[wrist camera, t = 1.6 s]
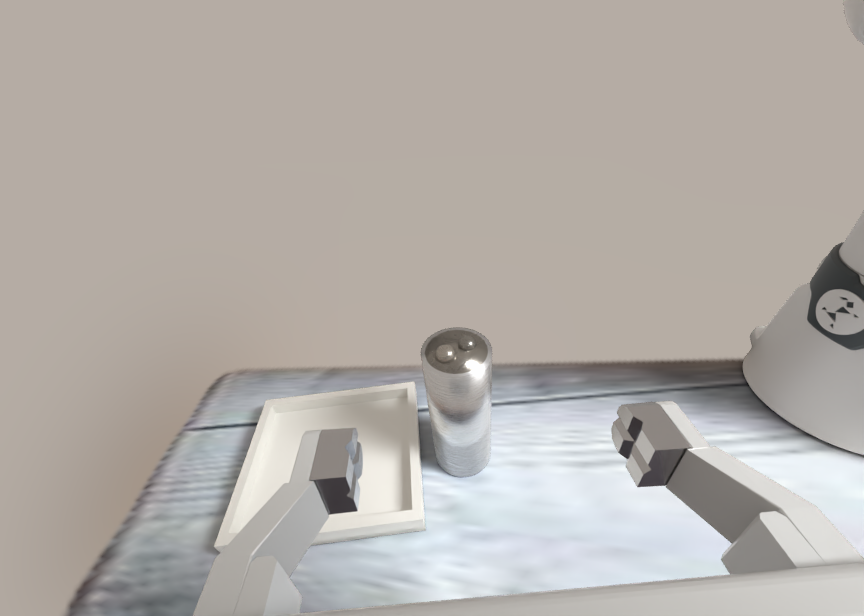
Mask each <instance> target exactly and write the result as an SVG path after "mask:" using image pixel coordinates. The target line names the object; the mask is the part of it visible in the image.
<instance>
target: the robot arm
mask: <svg viewBox="0 0 864 616" xmlns="http://www.w3.org/2000/svg"><path fill="white" fill-rule="evenodd" d="M843 5H844V14H845V17H846V21H847V24H848V26H849V28H850V30H851V32H852V33H853V35H854V36H855V37H856V38H857V40H859V41H860V42H861V43H862V44H863V45H864V0H843ZM817 269H818V271H817V272H816V273H815V275H814V277H813V278H812V280H811V281H810V283H807V284H802V285H800V286H799V287H798V288H797V289H796V290H795V291H794V292H793V293H792V295H791V296H790V297H789V298H788V300H787V301H786V302H785V303H784V305H783V306H782V307H781V309H780V310H779V311H778V312H777V314H776V315H775V316H774V317H773V319H772V320H771V322H770V323H769V324H768V325H767V326H758V327H757V328H755V329H754V330H753V332H752V333H751V335H750V338H751V344H752V348H751V350H750V351H749V353H748V354H747V355H746V356H745V358H744V361H743V373H744V376H745V378H746V380H747V382H748V384H749V386H750V387H751V389H752V390H753V391H754V392H755V394H756V395H757V396H758V397H759V398H760V399H761V400H762V401H763V402H764V403H765V404H766V405H767V406H768V407H770V408H771V409H772V410H773V411H774V412H776V413H777V414H778V415H780V416H781V417H782V418H784V419H785V420H787V421H788V422H790V423H791V424H793V425H795V426H796V427H798V428H800V429H801V430H803V431H805V432H807V433H809V434H811V435H813V436H815V437H817V438H819V439H821V440H823V441H825V442H828V443H830V444H832V445H835V446H837V447H840V448H843V449H845V450H848V451H851V452H854V453H858V454H861V455H864V211H863V213H862V214H861V216H860V218H859V219H858V221H857V223H856V224H855V226H854V227H853V229H852V231H851V232H850V234H849V235H848V237H847V238H846V240H845V242H843V243H840V244H838V245H836V246H835V247H834V248H833V249H832V250H831V252H830V253H829V254H828V256H826V257H825V258H824V259H823V260H822V262H821V263H820V264H819V266H818V268H817ZM617 414H618V416H619V418H618V419H617V420H616V421H614V422H613V426H612V429H611V430H612V439H613V442H614V445H615V447H616V449H617V451H618V453H620V454H621V455H622V456H624V457H625V458H626V459H627V463H626V468H627V469H628V471H629V473H630V475H631V477H632V478H633V480H634V482H635V484H636V486H637V487H648V486H666V485H667V486H666V488H667V489H669V490H670V491H671V492H672V493H673V494H675V495H676V496H677V497H678V498H679V499H680V500H682V501H683V502H684V503H685V504H686V505H687V506H689V507H690V508H691V509H692V510H693V511H694V512H696V513H697V514H698V515H699V516H700V517H701V518H703V519H704V520H705V521H706V522H707V523H708V524H710V525H711V526H712V527H713V528H714V529H716V530H717V531H718V532H719V533H720V534H721V535H723V536H724V537H725V538H726V539H727V540H728V541H730V542H731V543H732V544H731V546H730V547H729V548H728V549H727V550H726V551H725V552H724V553H723V555H722V558H721V560H722V562H723V564H724V565H725V567H726V568H727V570H728V572H729V573H730V575H719V576H708V577H697V578H685V579H674V580H663V581H652V582H641V583H630V584H619V585H608V586H597V587H586V588H574V589H563V590H552V591H541V592H530V593H519V594H508V595H497V596H486V597H475V598H463V599H452V600H441V601H430V602H419V603H408V604H397V605H386V606H375V607H364V608H353V609H342V610H331V611H320V612H309V613H300V608H301V603H302V598H303V597H302V596H301V594H300V592H299V591H298V589H297V588H296V587H295V585H294V584H293V582H292V581H291V580H290V578H289V577H290V576H291V574H292V573H293V571H294V570H295V568H296V567H297V565H298V564H299V562H300V561H301V559H302V557H303V556H304V554H305V553H306V551H307V550H308V548H309V547H310V545H311V544H312V542H313V541H314V539H315V538H316V536H317V534H318V533H319V531H320V530H321V528H322V527H323V525H324V524H325V522H326V521H327V519H328V518H329V515H330V514H339V513H348V512H356V511H358V505H359V496H360V486H359V483H358V479H359V478H360V476H361V475H362V469H363V453H362V447H361V443H359V442H358V441H357V440H358V432H357V429H356V428H342V429H325V430H311V431H305V433H304V434H303V436H302V439H301V443H300V446H299V450H298V453H297V457H296V460H295V464H294V467H293V471H292V474H291V478H290V481H289V483H284V484H283V485H282V486H281V487H280V488H279V489H278V490H277V492H276V493H275V494H274V495H273V496H272V497H271V498H270V499H269V500H268V501H267V502H266V504H265V505H264V506H263V507H262V508H261V509H260V510H259V511H258V512H257V513H256V514H255V516H254V517H253V518H252V519H251V520H250V521H249V522H248V523H247V524H246V525H245V526H244V528H243V529H242V530H241V531H240V532H239V533H238V534H237V535H236V536H235V537H234V538H233V540H232V541H231V542H230V543H229V544H228V545H227V546H226V547H225V548H224V549H223V550H222V551H221V553H220V554H219V555H218V556H217V557H216V558H215V560H214V562H213V565H212V567H211V570H210V572H209V575H208V578H207V580H206V583H205V585H204V588H203V590H202V593H201V595H200V598H199V601H198V603H197V606H196V608H195V611H194V613H193V616H864V558H863V557H862V556H861V555H860V553H859V552H858V551H857V550H856V549H855V548H854V547H853V546H852V545H851V544H850V543H849V541H848V540H847V539H846V538H845V537H844V536H843V535H842V534H841V533H840V532H839V531H838V529H837V528H836V527H835V526H834V525H833V524H832V523H831V522H830V521H829V520H828V519H827V517H826V516H825V515H824V514H823V513H822V512H821V511H820V510H819V509H818V508H817V507H816V506H815V505H813V504H811V503H810V502H808V501H806V500H805V499H803V498H801V497H800V496H798V495H796V494H795V493H793V492H791V491H790V490H788V489H786V488H785V487H783V486H781V485H780V484H778V483H776V482H774V481H773V480H771V479H769V478H768V477H766V476H764V475H763V474H761V473H759V472H758V471H756V470H754V469H753V468H751V467H749V466H748V465H746V464H744V463H743V462H741V461H739V460H738V459H736V458H734V457H733V456H731V455H729V454H728V453H726V452H724V451H722V450H721V449H719V448H717V447H710V445H709V444H708V443H707V441H706V440H705V439H704V438H703V436H702V435H701V434H700V433H699V431H698V430H697V429H696V428H695V426H694V425H693V424H692V423H691V421H690V420H689V419H688V418H687V416H686V415H685V414H684V413H683V411H682V410H681V409H680V408H679V406H678V405H677V404H676V403H675V402H673V401H661V402H646V403H636V404H626V405H621V406H620V407H619V408H618V411H617Z"/></svg>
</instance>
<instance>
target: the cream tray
mask: <svg viewBox="0 0 864 616" xmlns="http://www.w3.org/2000/svg"><path fill="white" fill-rule="evenodd" d="M342 428H356V429H357V432H358V440H357V441H358V442H359V443H361V447H362V453H363V469H362V475H361V476H360V478H359V479H358V483H359V486H360V496H359V505H358V511H356V512H348V513H339V514H330V515H329V518H328V519H327V521H326V522H325V524H324V525H323V527H322V528H321V530H320V531H319V533H318V534H317V536H316V538H315V539H314V541H313V542H312V544H311V545H319V544H326V543H334V542H341V541H349V540H356V539H364V538H372V537H379V536H387V535H394V534H402V533H409V532H417V531H424V530H426V529H425V514H424V498H423V483H422V468H421V453H420V438H419V423H418V408H417V393H416V387H415V382H407V383H399V384H391V385H383V386H375V387H367V388H359V389H351V390H343V391H335V392H327V393H319V394H311V395H303V396H295V397H287V398H279V399H271V400H266V402H265V404H264V407H263V410H262V413H261V416H260V418H259V421H258V424H257V427H256V430H255V433H254V435H253V438H252V441H251V444H250V447H249V449H248V452H247V455H246V458H245V461H244V463H243V466H242V469H241V472H240V475H239V478H238V480H237V483H236V486H235V489H234V492H233V494H232V497H231V500H230V503H229V506H228V508H227V511H226V514H225V517H224V520H223V522H222V525H221V528H220V531H219V534H218V537H217V539H216V542H215V545H214V547H215V548H216V549H217V550H218V551H219V552H220V553H221V551H222V550H223V549H224V548H225V547H226V546H227V545H228V544H229V543H230V542H231V541H232V540H233V538H234V537H235V536H236V535H237V534H238V533H239V532H240V531H241V530H242V529H243V528H244V526H245V525H246V524H247V523H248V522H249V521H250V520H251V519H252V518H253V517H254V516H255V514H256V513H257V512H258V511H259V510H260V509H261V508H262V507H263V506H264V505H265V504H266V502H267V501H268V500H269V499H270V498H271V497H272V496H273V495H274V494H275V493H276V492H277V490H278V489H279V488H280V487H281V486H282V485H283V484H284V483H289V481H290V478H291V474H292V471H293V467H294V464H295V460H296V457H297V453H298V450H299V446H300V443H301V439H302V436H303V434H304V433H305V431H311V430H325V429H342ZM311 545H310V546H311Z"/></svg>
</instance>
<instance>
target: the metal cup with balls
mask: <svg viewBox="0 0 864 616" xmlns="http://www.w3.org/2000/svg"><path fill="white" fill-rule="evenodd" d="M421 359H422V366H423V373H424V380H425V387H426V393H427V400H428V407H429V414H430V421H431V427H432V434H433V441H434V448H435V454H436V459H437V461H438V463H439V465H440V466H441V468H442V469H443V470H445V471H446V472H447V473H449V474H451V475H454V476H457V477H469V476H473V475H475V474H477V473H479V472H481V471H482V470H483V469H484V468H485V467H486V465H487V464H488V461H489V459H490V450H491V388H492V347H491V345H490V342H489V341H488V339H487V338H486V337H485V336H483V335H482V334H481V333H479V332H477V331H474V330H471V329H467V328H449V329H444V330H441V331H438V332H436V333H435V334H433V335H431V336H430V337H429V338H428V339H427V340H426V341H425V343H424V344H423V346H422V348H421Z"/></svg>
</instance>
